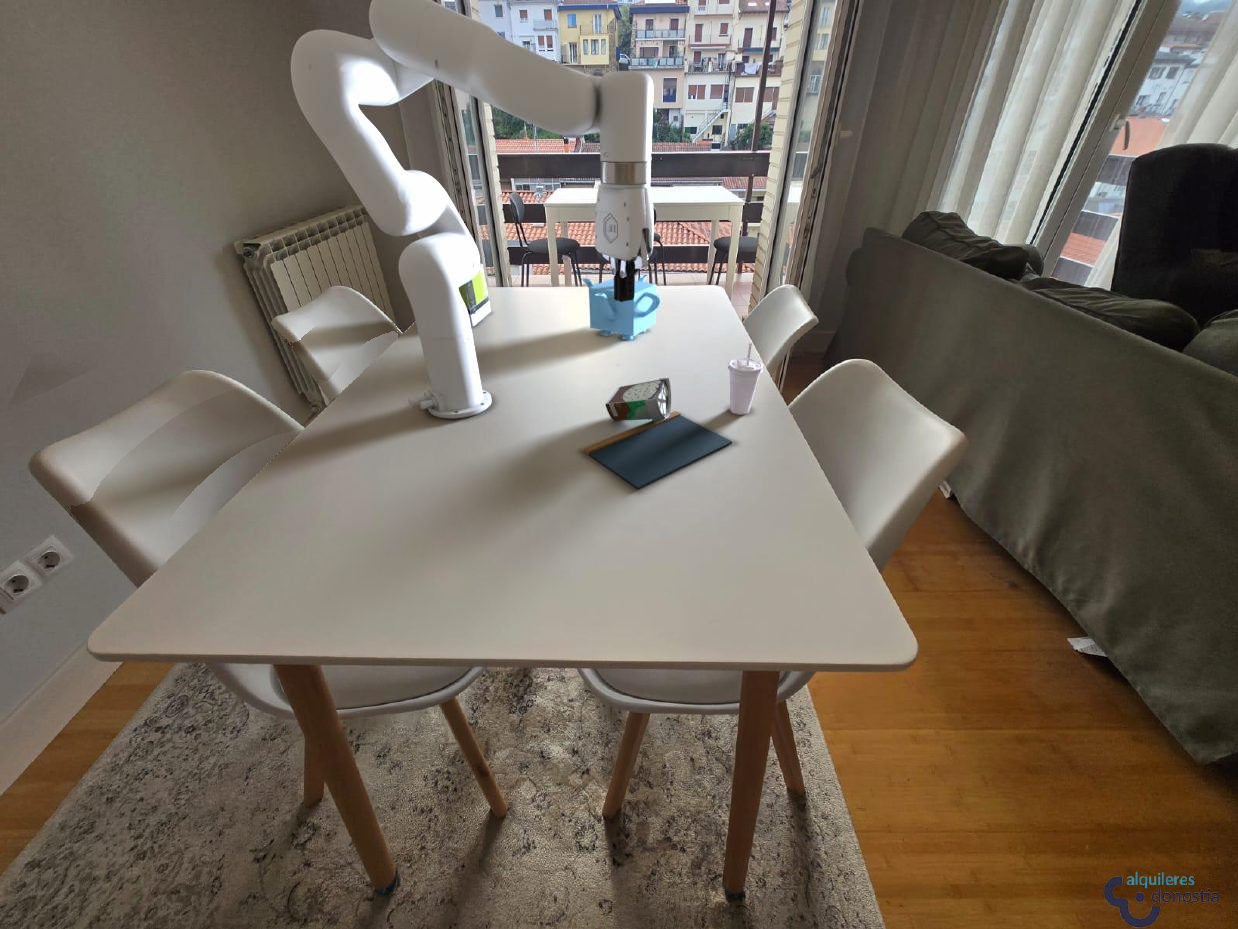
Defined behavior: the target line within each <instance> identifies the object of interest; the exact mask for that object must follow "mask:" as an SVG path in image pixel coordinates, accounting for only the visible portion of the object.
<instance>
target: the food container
mask: <svg viewBox="0 0 1238 929" xmlns="http://www.w3.org/2000/svg"><path fill="white" fill-rule="evenodd" d="M605 408H606V411H607V413H608V415H609V417H610V419H612V421H614V422H624V421H626V422H627V421H642V420H643V421H644V420H651V421H654V422H659V421H662V420H664V419H666V418H668V417H669V415H670V413H672V387H671V381H670V377H661V378H659V379H654V380H649V381H644V382H638V383H632V384H628V385H622V386H619V387H618V388H617V389H616V390H615V391H614V393H613V394H612V395H611V396H610V397H609V399H608V400H607V401H606V402H605Z"/></svg>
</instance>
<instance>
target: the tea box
mask: <svg viewBox="0 0 1238 929" xmlns="http://www.w3.org/2000/svg"><path fill="white" fill-rule="evenodd" d="M486 280H487V279H486V275H485V270H484V264H483V263H480V267H479V270H478V273H477V274H476V276H475V277H474V278H473V279H472V280H470V281H469V282H467V283H465V284H464V285H462V286H460V287H459V288H458V289H459V293H460V295H461V297H462V299H463V301H464V304H465V306H466V308H467V311H468V315H469V319H470V325H471V328H472V327H474V326H476V325H477V324H478V323H479V322H480V321H481V320H483V319H485V317H486V316H488V315H489V314H490V313H491V312H492V311H491V303H490V300H489V299H490V298H489V291H488V287H487V281H486Z"/></svg>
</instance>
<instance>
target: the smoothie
mask: <svg viewBox="0 0 1238 929" xmlns="http://www.w3.org/2000/svg"><path fill="white" fill-rule="evenodd" d="M752 347H753V342H748V348H747V355H746V358H743V357H742V358H733V359H731V360H730V361H729V362H728V366H727V370H728V371H729V411H730V412H731V413H732V414H735V415H738V416H739V415H740V416H741V415H743V416H744V415H747V414H749V413H750V410H751V406H752V403H753V398H754V396H755V392H756V389H757V385H758V381H759V379H760V374H762V372H763V367H764V365H763V363H762V362H760V361H758V360H756V359H753V358H751V354H752Z"/></svg>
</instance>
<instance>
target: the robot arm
mask: <svg viewBox="0 0 1238 929" xmlns="http://www.w3.org/2000/svg"><path fill="white" fill-rule="evenodd" d="M368 21H369V26H370V30H371V33H372V36H373V37H372V38H365V37H362V36H357V35H354V34H350V33H346V32H343V31H338V30H332V29H314V30H310V31H307V32H306V33H303V35H301V36H300V37H299V38H298V40H296V43H295V44H294V47H293V49H292V53H291V56H290V57H291V59H290V78H291V84H292V88H293V92H294V96H295V98H296V101H297V104H298V106H299V108H300V110H301V112H302V114H303V116H304V117H305V119H306V121H307V123H308V124H309V126H310V127H311V128H312V130H313V132H314V133H315V134H316V136H317V137H318V139H319V140H320V141H321V142H322V144H323V145H324V146H325V148H326V149H327V151H328V152H329V154H330V155H331V156H332V158H333V159H334V161H335V162H336V164H337V166H338V167H339V169H340V170H341V172H342V174H343V176H344V178H345V179H346V181H347V182H348V183H349V185H350V186H351V188H352V190H353V191H354V193H355V194H356V196H357V197H358V199H359V200H360V202H361V204H362V206H363V207H364V209H365V210H366V212H367V213H368V215H369V216H370V218H371V220H372V221H373V222H374V223H375V225H376V226H377V227H378V228H379V230H380V231H382V232H384V233H385V234H386V235H388V236H392V237H404V236H409V235H412V234H416V235H417V237H418V238H419V239H417V240H414V241H413V242H411V243H410V244H408V245H407V246H406V247H405V248H404V249H403V250H402V252H401V254H400V256H399V260H398V274H399V278H400V281H401V284H402V287H403V289H404V291H405V293H406V296H407V298H408V301H409V304H410V306H411V309H412V312H413V316H414V320H415V324H416V328H417V332H418V336H419V339H420V340H419V341H420V345H421V349H422V353H423V357H424V361H425V366H426V370H427V375H428V379H429V383H430V385H428V386H426V390H427V391H425V392H423V394H421V395H416V396H412V397H408V398H407V400H408V404H409V406H410V408H411V409H412V408H417V407H420V409H421V410H425V409H428V412H429V414H431V415H433V416H434V417H438V418H441V419H451V420H452V419H463V418H468V417H472V416H475V415H477V414H480V413H482V412H485V410H487V409H488V408H489V407H490V406H491V405H492V395H491V393H489V391H488V390H485V389H483V387H482V382H481V376H480V371H479V364H478V359H477V353H476V348H475V342H474V337H473V336H474V335H473V330H472V327H471V325H470V319H469V315H468V311H467V308H466V306H465V304H464V301H463V299H462V297H461V295H460V293H459V289H458V288H459V287H460V286H462V285H464V284H465V283H467V282H469V281H470V280H472V279H473V278H474V277H475V276H476V274H477V273H478V270H479V267H480V264H481V256H480V252H479V249H478V247H477V244H476V242H475V240H474V238H473V236H472V234H471V233H470V231H469V229H468V227H467V226H466V224H465V223H464V220H463V219H462V217H461V215H460V213H459V212H458V210H457V208H456V205H455V204H454V203H453V201H452V199H451V197H450V196H449V194H448V192H447V191H446V190H445V189H444V187H443V186H442V185H441V183H440V182H439V181H438V180H437V179H436V178H434V177H433V176H432V175H430V174H429V173H426V172H424V171H422V170H417V169H408V170H407V169H406V170H405V169H404V168H403V166H401V164H400V162H399V161H398V159H397V157H395V155H394V153H393V152H392V150H391V147H390V146H389V144H388V143H387V140H386V139H385V138H384V136H383V134H382V133H381V132H380V131H379V130H378V128H376V126H375V125H374V124H373V123H372V122H371V121H370V120H369V119H368V118H367V117H366V115H365V114H364V113H363V112H362V110H361V109H360V107H359V105H361V106H376V107H386V106H391V105H394V104H396V103H398V102H400V101H402V100H403V99H405V98H407V97H408V96H410V95H411V94H413V93H414V92H416V91H418V90H419V89H421V88H423V87H424V86H426V85H428V84H429V83H430V82H432V81H433V80H437V81H439V82H441V83H443V84H445V85H448V86H449V87H450V86H451V87H452V88H454V89H456V90H459V91H461V92H463V93H465V94H467V95H469V96H472V97H473V98H476V99H478V100H479V101H480V102H483V103H487V104H489V105H490V106H493V107H494V108H497V109H498V110H500V111H502V112H505V113H507V114H509V115H511V116H513V117H514V118H518V120H519V119H520V120H521V121H523V122H526V123H528V124H531V125H533V126H536V127H537V128H540V129H541V130H544V131H547V132H549V133H553V134H555V135H559V136H585V135H591V134H597V133H599V146H600V147H599V151H600V152H599V158H600V159H599V161H600V162H599V163H600V166H599V167H600V168H599V169H600V171H599V172H600V184H599V185H598V189H597V194H596V200H595V215H594V217H595V218H594V219H595V220H594V248H595V250H596V251H597V252H598V253H599V254H601V255H602V257H603V258H604V259H605V260H606V261H607V262H608V263H609V265H610V269H611V270H610V271H611V274H612V275H613V278H614V300H616V301H619V302H624V301H629V300H633V299H634V295H635V281H636V276H638V274H639V270H640V269H646V268H648V267H649V257H651V255H652V254H653V248H654V236H655V234H654V232H655V230H654V229H655V228H654V227H655V226H654V225H655V224H654V223H655V221H654V204H653V194H652V193H653V192H652V187H651V173H652V169H651V168H652V167H651V166H652V146H653V145H652V142H653V115H654V114H653V113H654V81H653V79H652V77H651V76H650V74H648V73H647V72H644V71H638V70H637V71H636V70H616V71H610V72H607V73H605V74H604V75H603V76H601V75H594V74H590V73H589V74H588V73H584V72H582V71H579V70H577V69H574V68H572V67H570V66H569V67H568V66H567V65H564V64H561V63H560V62H556V61H554V60H552V59H549V58H547V57H545V56H542V55H540V54H538V53H536V52H533V51H532V50H529V49H527V48H525V47H522V46H521V45H518V44H516V43H514V42H512V41H510V40H508V39H506V38H504V37H502V36H501V35H500V34H498V32H497V31H496V29H494V28H493V27H491V26H489V25H487V24H485V23H483V22H481V21H479V20H476V19H474V18H473V17H472V18H471V17H469V16H467V15H464V14H462V13H460V12H458V11H456V10H453V9H451V8H449V7H447V6H444V5H443V4H440V3H439V2H436V1H434V0H371V2H370V5H369V10H368Z"/></svg>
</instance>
